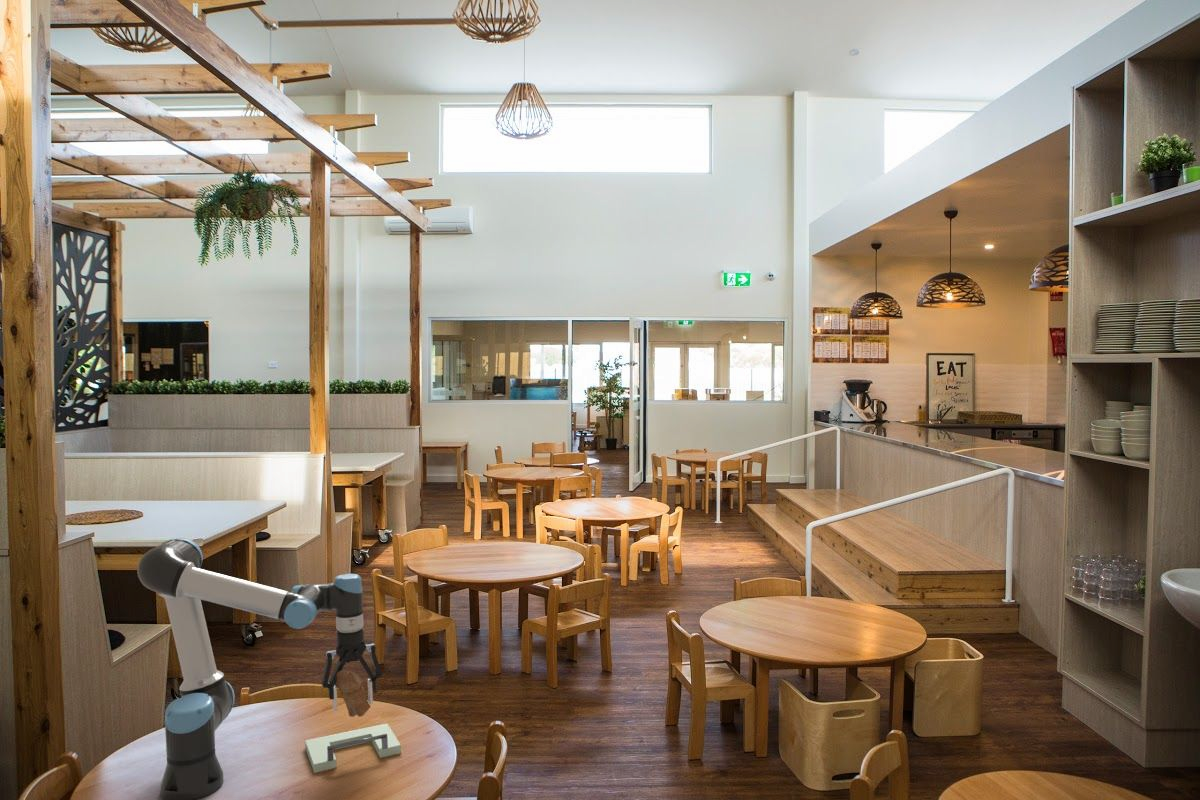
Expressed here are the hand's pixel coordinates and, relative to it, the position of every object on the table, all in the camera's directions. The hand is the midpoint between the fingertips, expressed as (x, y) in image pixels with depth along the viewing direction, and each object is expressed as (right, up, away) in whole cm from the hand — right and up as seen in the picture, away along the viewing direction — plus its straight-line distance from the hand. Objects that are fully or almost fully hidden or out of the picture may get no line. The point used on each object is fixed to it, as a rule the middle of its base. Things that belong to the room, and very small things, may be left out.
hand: (353, 705), depth 242 cm
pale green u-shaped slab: (-1, -14, +2) cm, 14 cm away
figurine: (0, -3, 0) cm, 3 cm away
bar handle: (+3, -12, -5) cm, 13 cm away
